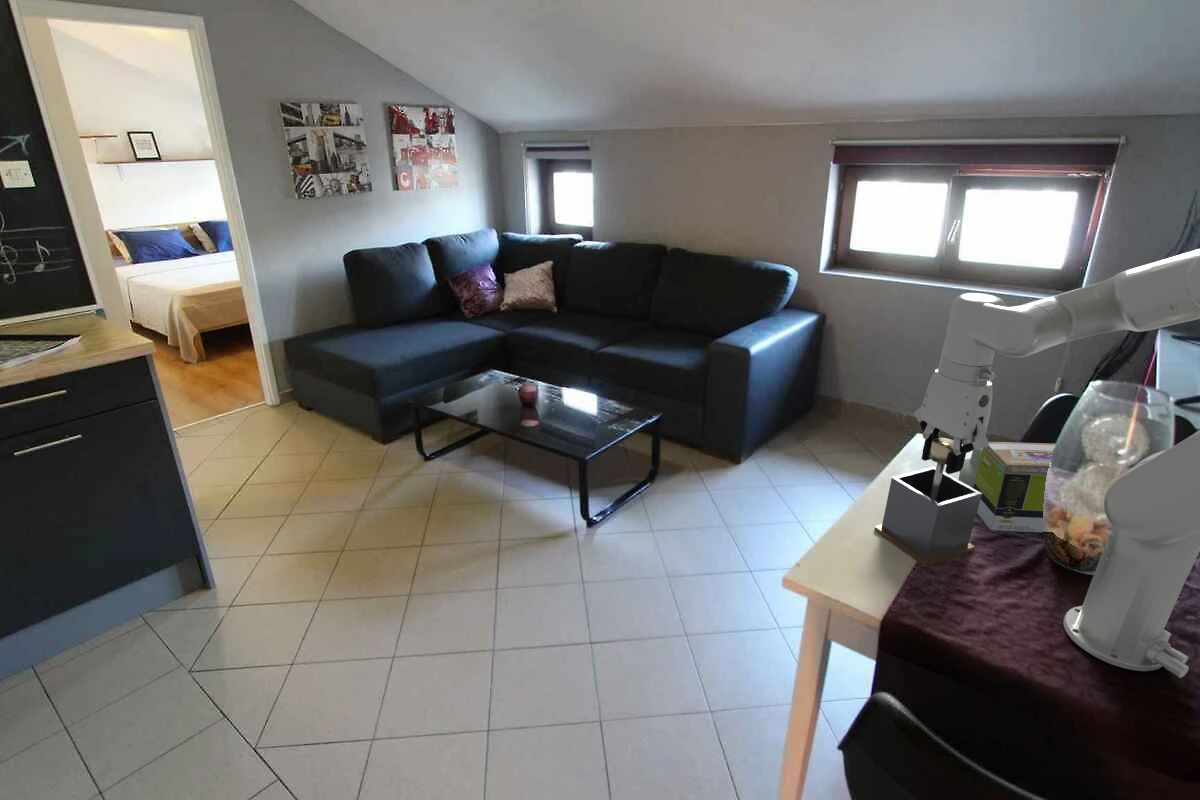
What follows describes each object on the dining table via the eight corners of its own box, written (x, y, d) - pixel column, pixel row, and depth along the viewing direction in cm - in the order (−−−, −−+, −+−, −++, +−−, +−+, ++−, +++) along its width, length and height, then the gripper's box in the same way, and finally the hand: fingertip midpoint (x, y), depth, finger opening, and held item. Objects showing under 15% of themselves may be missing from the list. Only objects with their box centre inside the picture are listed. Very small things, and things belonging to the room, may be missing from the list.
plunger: (960, 531, 119) (982, 449, 112) (928, 541, 116) (948, 457, 109) (925, 508, 125) (943, 430, 119) (893, 518, 122) (910, 438, 116)
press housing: (973, 550, 119) (989, 494, 114) (925, 567, 115) (939, 509, 110) (920, 516, 129) (933, 463, 124) (874, 530, 125) (885, 476, 120)
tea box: (1044, 507, 132) (1065, 442, 126) (1072, 536, 123) (1096, 467, 117) (967, 503, 134) (984, 439, 128) (988, 531, 125) (1008, 463, 119)
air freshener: (1001, 506, 133) (1013, 463, 129) (956, 495, 136) (966, 453, 132) (1001, 482, 141) (1013, 441, 137) (958, 473, 145) (969, 432, 141)
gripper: (1027, 383, 102) (998, 483, 110) (938, 350, 117) (918, 441, 124) (993, 390, 100) (966, 493, 107) (906, 356, 114) (888, 448, 121)
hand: (940, 464), depth 115 cm, fingers closed on plunger, 4 cm apart
